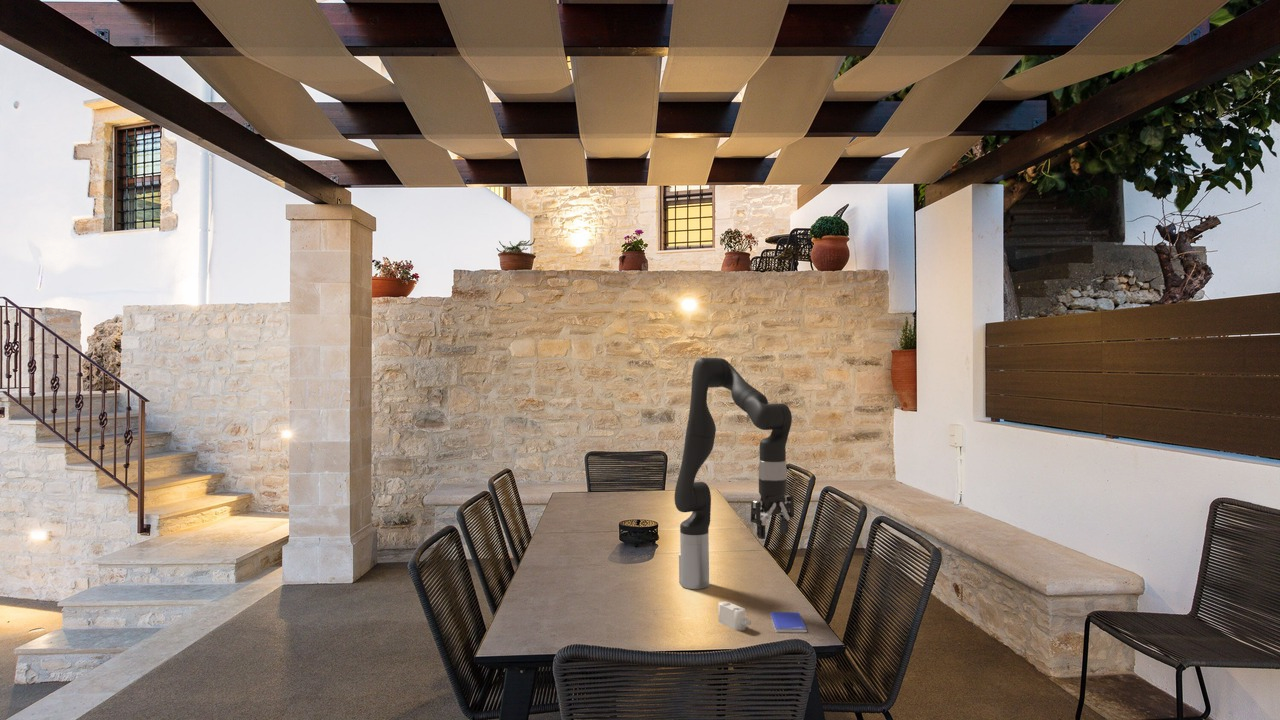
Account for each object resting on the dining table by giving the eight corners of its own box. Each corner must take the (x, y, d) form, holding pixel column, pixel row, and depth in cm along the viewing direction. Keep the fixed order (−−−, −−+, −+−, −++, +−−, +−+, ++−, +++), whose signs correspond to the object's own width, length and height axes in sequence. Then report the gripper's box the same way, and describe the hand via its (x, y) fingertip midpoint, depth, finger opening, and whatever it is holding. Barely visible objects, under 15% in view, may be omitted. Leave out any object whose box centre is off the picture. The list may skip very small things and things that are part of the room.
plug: (716, 621, 193) (715, 603, 193) (725, 618, 195) (725, 600, 195) (743, 633, 184) (743, 614, 184) (753, 630, 186) (752, 612, 186)
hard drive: (807, 628, 184) (799, 612, 197) (775, 628, 185) (770, 611, 197) (807, 634, 184) (799, 617, 197) (775, 633, 185) (770, 617, 197)
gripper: (780, 472, 196) (781, 529, 196) (743, 477, 188) (744, 537, 188) (801, 476, 190) (801, 535, 190) (763, 481, 182) (763, 543, 182)
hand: (772, 536), depth 189 cm, fingers open, 8 cm apart
